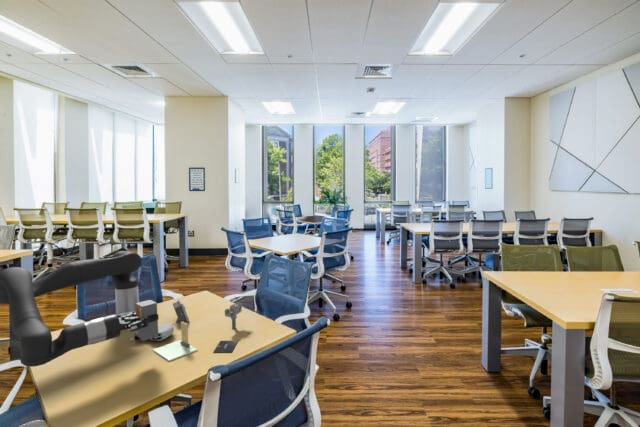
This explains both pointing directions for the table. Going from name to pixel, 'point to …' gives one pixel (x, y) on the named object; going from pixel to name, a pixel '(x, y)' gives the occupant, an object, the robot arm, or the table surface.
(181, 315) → the electrical switch
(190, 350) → the board
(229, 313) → the mechanical component
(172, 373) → the table surface
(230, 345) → the solid state drive
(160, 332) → the robot toy
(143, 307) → the plug block
